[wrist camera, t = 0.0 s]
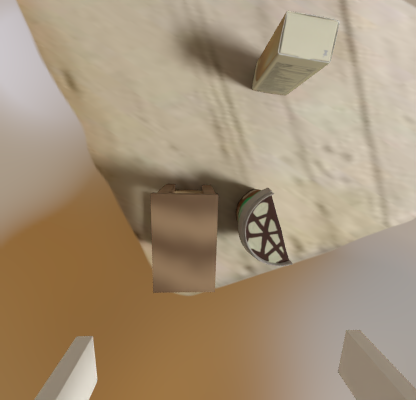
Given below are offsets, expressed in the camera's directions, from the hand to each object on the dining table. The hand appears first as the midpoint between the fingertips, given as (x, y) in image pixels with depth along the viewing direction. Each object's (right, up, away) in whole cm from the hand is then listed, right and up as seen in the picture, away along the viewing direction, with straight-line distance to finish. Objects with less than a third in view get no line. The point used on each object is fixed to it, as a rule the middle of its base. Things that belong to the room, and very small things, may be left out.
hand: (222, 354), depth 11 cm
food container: (+7, +5, +28) cm, 29 cm away
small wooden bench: (-4, +5, +27) cm, 28 cm away
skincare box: (+10, +28, +24) cm, 38 cm away
